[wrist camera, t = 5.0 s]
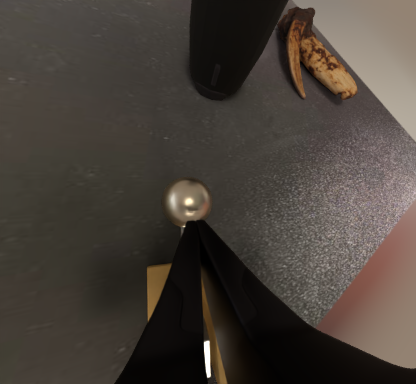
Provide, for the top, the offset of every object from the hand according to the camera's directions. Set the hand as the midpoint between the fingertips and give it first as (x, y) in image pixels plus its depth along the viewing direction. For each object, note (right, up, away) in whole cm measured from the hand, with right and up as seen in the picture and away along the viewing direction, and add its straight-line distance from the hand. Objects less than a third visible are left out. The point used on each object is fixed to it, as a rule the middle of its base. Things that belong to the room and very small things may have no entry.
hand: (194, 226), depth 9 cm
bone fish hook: (+17, +23, +22) cm, 36 cm away
